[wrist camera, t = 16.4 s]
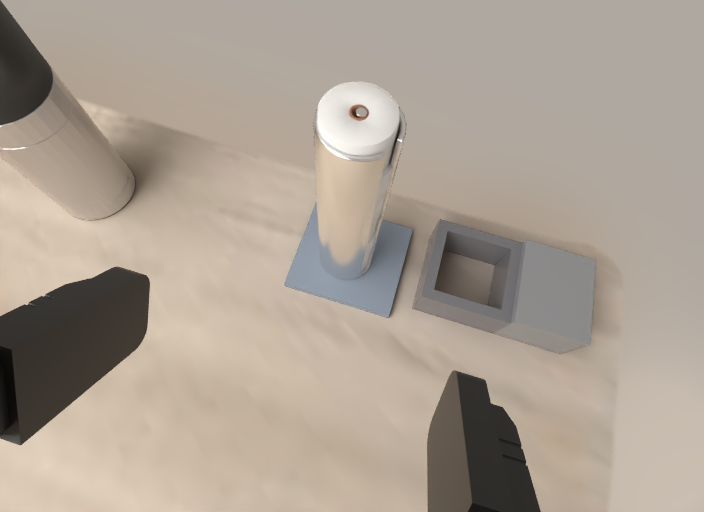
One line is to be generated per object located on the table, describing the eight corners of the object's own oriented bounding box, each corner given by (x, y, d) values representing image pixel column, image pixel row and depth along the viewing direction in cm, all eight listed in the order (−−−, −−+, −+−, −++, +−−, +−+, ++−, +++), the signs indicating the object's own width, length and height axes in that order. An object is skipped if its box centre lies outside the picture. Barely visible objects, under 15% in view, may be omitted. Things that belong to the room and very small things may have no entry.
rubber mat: (284, 285, 49) (284, 283, 48) (316, 203, 54) (316, 200, 53) (388, 317, 48) (389, 316, 47) (411, 231, 53) (412, 229, 52)
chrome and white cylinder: (327, 286, 48) (327, 161, 25) (313, 239, 51) (302, 84, 28) (378, 273, 49) (423, 140, 26) (362, 227, 52) (391, 68, 29)
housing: (412, 308, 49) (423, 293, 43) (430, 237, 53) (442, 215, 47) (559, 353, 48) (590, 344, 42) (567, 277, 52) (596, 259, 46)
